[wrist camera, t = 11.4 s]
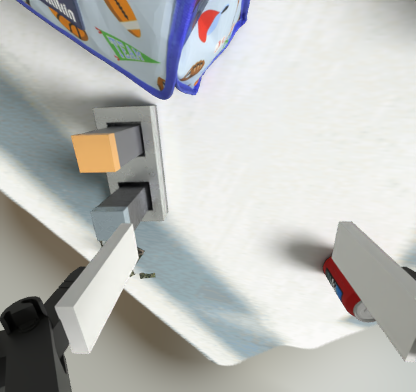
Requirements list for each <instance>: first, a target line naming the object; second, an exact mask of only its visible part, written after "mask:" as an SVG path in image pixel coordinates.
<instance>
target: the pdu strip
mask: <svg viewBox="0 0 416 392" xmlns="http://www.w3.org/2000/svg"><path fill="white" fill-rule="evenodd" d="M93 112H94V117H95V122H96V127H97V130H99V129H103V128H107V127H111V126H115V125H126V124H141V127H142V134H143V141H144V148H145V152H143V153H142V154H140V155H139V156H137V157H136V158H134V159H133V160H131V161H130V162H128V163H127V164H125V165H124V166H123V167H121V169H119V170H118V171H116V172H106V174H107V179H108V183H109V188H110V193H111V195H110V196H109V197H108V198H107V199H105V200H104V201H103V202H102V203H101V204H100V205H99V206H97V207H95V208H94V209H93V210H92V211H91V212H90V213H91V217H92V221H93V225H94V229H95V233H96V237H97V241H107V240H108V239H109V238H110V237H111V235H112V234H113V233H114V232H115V230H116V229H117V228H118V227H119V225H120V224H121V223H133V228H134V231H135V229H136V228H137V226H138V225H139V223H140V222H141V221H164V219H165V217H166V215H167V213H168V206H167V197H166V188H165V179H164V170H163V161H162V153H161V144H160V135H159V126H158V117H157V108H156V105H154V106H128V107H103V108H93Z"/></svg>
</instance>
